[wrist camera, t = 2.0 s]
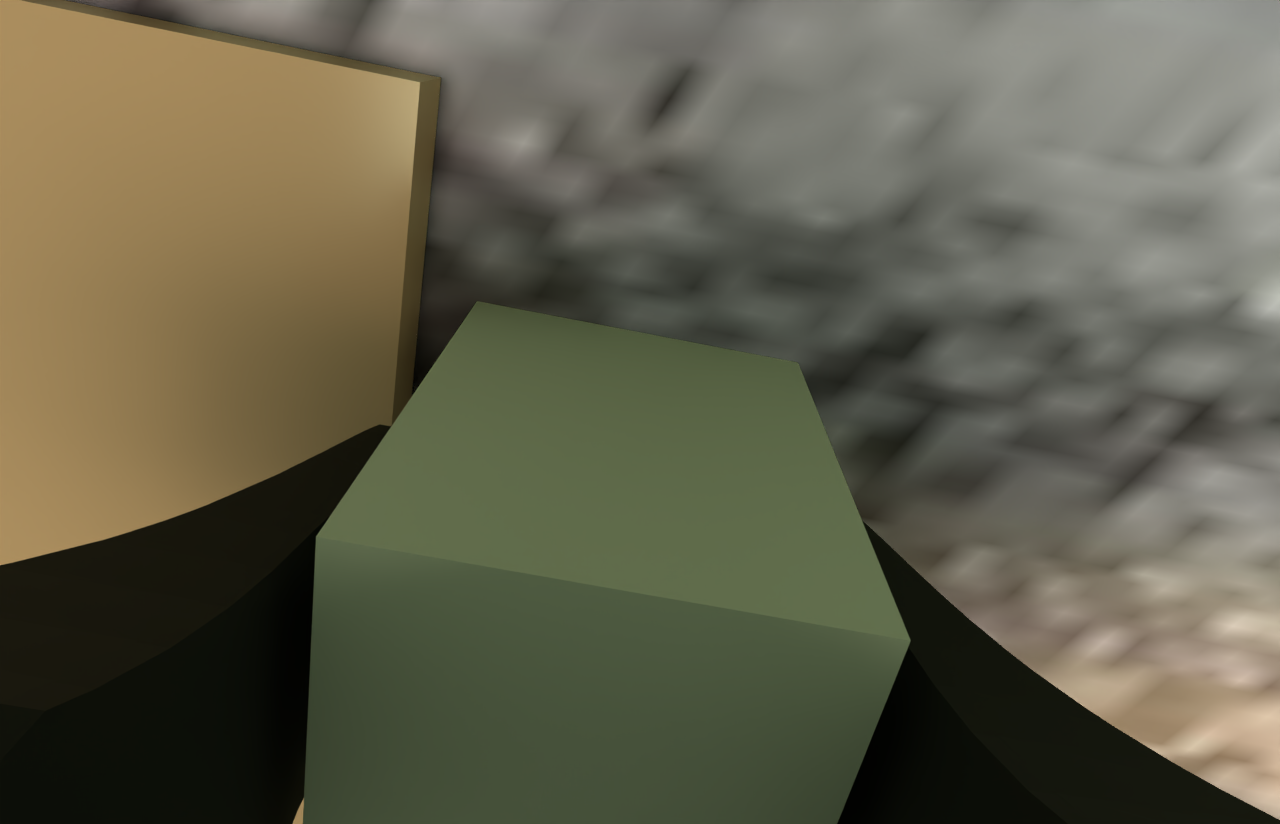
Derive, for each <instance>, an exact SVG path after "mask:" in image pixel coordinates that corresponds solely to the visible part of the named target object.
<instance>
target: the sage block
mask: <svg viewBox="0 0 1280 824" xmlns="http://www.w3.org/2000/svg"><path fill="white" fill-rule="evenodd" d="M910 641H911V640H910V638H909V635H908V633H907V630H906V628H905V626H904V623H903V621H902V618H901V616H900V613H899V611H898V608H897V606H896V603H895V601H894V598H893V596H892V593H891V591H890V589H889V586H888V584H887V581H886V579H885V576H884V574H883V571H882V569H881V566H880V564H879V561H878V559H877V556H876V554H875V552H874V549H873V547H872V544H871V542H870V539H869V537H868V534H867V532H866V529H865V527H864V524H863V522H862V520H861V517H860V515H859V512H858V510H857V507H856V505H855V502H854V500H853V497H852V495H851V492H850V490H849V487H848V485H847V483H846V480H845V478H844V475H843V473H842V470H841V468H840V465H839V463H838V460H837V458H836V455H835V453H834V450H833V448H832V446H831V443H830V441H829V438H828V436H827V433H826V431H825V428H824V426H823V423H822V421H821V418H820V416H819V413H818V411H817V409H816V406H815V404H814V401H813V399H812V396H811V394H810V391H809V389H808V386H807V384H806V381H805V379H804V376H803V374H802V372H801V369H800V367H799V364H798V363H797V362H792V361H787V360H782V359H776V358H771V357H766V356H761V355H756V354H750V353H745V352H740V351H735V350H730V349H724V348H719V347H714V346H709V345H703V344H698V343H693V342H688V341H683V340H677V339H672V338H667V337H662V336H656V335H651V334H646V333H641V332H636V331H630V330H625V329H620V328H615V327H610V326H604V325H599V324H594V323H589V322H583V321H578V320H573V319H568V318H563V317H557V316H552V315H547V314H542V313H537V312H531V311H526V310H521V309H516V308H510V307H505V306H500V305H495V304H490V303H484V302H479V301H477V302H476V303H475V305H474V306H473V308H472V309H471V311H470V312H469V314H468V315H467V317H466V318H465V320H464V321H463V322H462V324H461V325H460V327H459V328H458V330H457V331H456V333H455V334H454V336H453V337H452V339H451V340H450V341H449V343H448V344H447V346H446V347H445V349H444V350H443V352H442V353H441V355H440V356H439V358H438V359H437V360H436V362H435V363H434V365H433V366H432V368H431V369H430V371H429V372H428V374H427V375H426V377H425V378H424V380H423V381H422V382H421V384H420V385H419V387H418V388H417V390H416V391H415V393H414V394H413V396H412V397H411V399H410V400H409V401H408V403H407V404H406V406H405V407H404V409H403V410H402V412H401V413H400V415H399V416H398V418H397V419H396V420H395V422H394V423H393V425H392V426H391V428H390V429H389V431H388V432H387V434H386V435H385V437H384V438H383V439H382V441H381V442H380V444H379V445H378V447H377V448H376V450H375V451H374V453H373V454H372V456H371V457H370V459H369V460H368V461H367V463H366V464H365V466H364V467H363V469H362V470H361V472H360V473H359V475H358V476H357V478H356V479H355V480H354V482H353V483H352V485H351V486H350V488H349V489H348V491H347V492H346V494H345V495H344V497H343V498H342V499H341V501H340V502H339V504H338V505H337V507H336V508H335V510H334V511H333V513H332V514H331V516H330V517H329V518H328V520H327V521H326V523H325V524H324V526H323V527H322V529H321V530H320V532H319V533H318V535H317V536H316V549H315V570H314V592H313V613H312V635H311V657H310V678H309V700H308V722H307V743H306V765H305V786H304V808H303V824H837V823H838V820H839V818H840V815H841V813H842V811H843V808H844V806H845V803H846V801H847V798H848V796H849V793H850V791H851V788H852V786H853V783H854V781H855V778H856V776H857V773H858V771H859V768H860V766H861V763H862V761H863V758H864V756H865V753H866V751H867V748H868V746H869V743H870V741H871V738H872V736H873V733H874V731H875V728H876V726H877V723H878V721H879V718H880V716H881V713H882V711H883V708H884V706H885V703H886V701H887V698H888V696H889V693H890V691H891V688H892V686H893V684H894V681H895V679H896V676H897V674H898V671H899V669H900V666H901V664H902V661H903V659H904V656H905V654H906V651H907V649H908V646H909V644H910Z"/></svg>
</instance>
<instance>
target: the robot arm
mask: <svg viewBox="0 0 1280 824" xmlns="http://www.w3.org/2000/svg"><path fill="white" fill-rule="evenodd" d="M390 428H391V426H386V425H381V424H379V425H377V426H374V427H372V428H369V429H367V430H365V431H363V432H361V433H359V434H357V435H355V436H353V437H351V438H349V439H347V440H345V441H343V442H341V443H339V444H337V445H335V446H333V447H331V448H329V449H327V450H325V451H324V452H322V453H320V454H317V455H315V456H313V457H311V458H309V459H307V460H305V461H303V462H301V463H299V464H297V465H295V466H293V467H291V468H289V469H287V470H285V471H283V472H281V473H279V474H277V475H275V476H273V477H270V478H268V479H266V480H263V481H261V482H259V483H256V484H254V485H252V486H250V487H247V488H245V489H243V490H240V491H238V492H236V493H233V494H231V495H229V496H226V497H224V498H222V499H219V500H217V501H215V502H213V503H210V504H208V505H205V506H203V507H200V508H198V509H195V510H192V511H190V512H187V513H184V514H181V515H179V516H176V517H173V518H170V519H168V520H165V521H162V522H158V523H155V524H152V525H149V526H146V527H143V528H140V529H137V530H134V531H131V532H128V533H124V534H121V535H118V536H115V537H111V538H108V539H104V540H101V541H97V542H93V543H89V544H85V545H81V546H77V547H73V548H69V549H65V550H61V551H57V552H53V553H49V554H45V555H41V556H37V557H33V558H29V559H25V560H21V561H17V562H13V563H8V564H4V565H0V824H293V821H294V819H295V816H296V814H297V811H298V809H299V807H300V805H301V803H302V800H303V798H304V786H305V765H306V743H307V722H308V700H309V678H310V657H311V635H312V613H313V592H314V570H315V549H316V536H317V535H318V533H319V532H320V530H321V529H322V527H323V526H324V524H325V523H326V521H327V520H328V518H329V517H330V516H331V514H332V513H333V511H334V510H335V508H336V507H337V505H338V504H339V502H340V501H341V499H342V498H343V497H344V495H345V494H346V492H347V491H348V489H349V488H350V486H351V485H352V483H353V482H354V480H355V479H356V478H357V476H358V475H359V473H360V472H361V470H362V469H363V467H364V466H365V464H366V463H367V461H368V460H369V459H370V457H371V456H372V454H373V453H374V451H375V450H376V448H377V447H378V445H379V444H380V442H381V441H382V439H383V438H384V437H385V435H386V434H387V432H388V431H389V429H390ZM862 522H863V521H862ZM863 524H864V527H865V529H866V532H867V534H868V537H869V539H870V542H871V544H872V547H873V549H874V552H875V554H876V556H877V559H878V561H879V564H880V566H881V569H882V571H883V574H884V576H885V579H886V581H887V584H888V586H889V589H890V591H891V593H892V596H893V598H894V601H895V603H896V606H897V608H898V611H899V613H900V616H901V618H902V621H903V623H904V626H905V628H906V630H907V633H908V635H909V638H910V640H911V641H910V644H909V646H908V649H907V651H906V654H905V656H904V659H903V661H902V664H901V666H900V669H899V671H898V674H897V676H896V679H895V681H894V684H893V686H892V688H891V691H890V693H889V696H888V698H887V701H886V703H885V706H884V708H883V711H882V713H881V716H880V718H879V721H878V723H877V726H876V728H875V731H874V733H873V736H872V738H871V741H870V743H869V746H868V748H867V751H866V753H865V756H864V758H863V761H862V763H861V766H860V768H859V771H858V773H857V776H856V778H855V781H854V783H853V786H852V788H851V791H850V793H849V796H848V798H847V801H846V803H845V806H844V808H843V811H842V813H841V815H840V818H839V820H838V823H837V824H1280V820H1278V819H1276V818H1274V817H1273V816H1271V815H1269V814H1267V813H1265V812H1263V811H1261V810H1259V809H1257V808H1255V807H1253V806H1251V805H1250V804H1248V803H1246V802H1244V801H1242V800H1240V799H1238V798H1236V797H1234V796H1232V795H1230V794H1228V793H1226V792H1225V791H1223V790H1221V789H1219V788H1217V787H1215V786H1214V785H1212V784H1210V783H1208V782H1206V781H1205V780H1203V779H1201V778H1199V777H1197V776H1196V775H1194V774H1192V773H1190V772H1189V771H1187V770H1185V769H1183V768H1181V767H1180V766H1178V765H1176V764H1174V763H1173V762H1171V761H1169V760H1168V759H1166V758H1164V757H1163V756H1161V755H1159V754H1158V753H1156V752H1155V751H1153V750H1151V749H1150V748H1148V747H1146V746H1145V745H1143V744H1141V743H1140V742H1138V741H1137V740H1135V739H1133V738H1132V737H1130V736H1128V735H1127V734H1125V733H1123V732H1122V731H1120V730H1118V729H1117V728H1115V727H1114V726H1112V725H1111V724H1109V723H1107V722H1106V721H1104V720H1103V719H1101V718H1100V717H1098V716H1097V715H1095V714H1094V713H1092V712H1091V711H1089V710H1088V709H1086V708H1085V707H1083V706H1082V705H1080V704H1079V703H1077V702H1076V701H1075V700H1073V699H1072V698H1070V697H1069V696H1068V695H1066V694H1065V693H1063V692H1062V691H1061V690H1059V689H1058V688H1056V687H1055V686H1054V685H1052V684H1051V683H1049V682H1048V681H1047V680H1045V679H1044V678H1042V677H1041V676H1040V675H1038V674H1037V673H1035V672H1034V671H1033V670H1031V669H1030V668H1029V667H1027V666H1026V665H1025V664H1023V663H1022V662H1021V661H1020V660H1018V659H1017V658H1016V657H1014V656H1013V655H1012V654H1011V653H1009V652H1008V651H1007V650H1006V649H1004V648H1003V647H1002V646H1001V645H999V644H998V643H997V642H996V641H995V640H993V639H992V638H991V637H990V636H989V635H987V634H986V633H985V632H984V631H983V630H981V629H980V628H979V627H978V626H977V625H975V624H974V623H973V622H972V621H971V620H969V619H968V618H967V617H966V616H965V615H964V614H963V613H961V612H960V611H959V610H958V609H957V608H956V607H955V606H954V605H952V604H951V603H950V602H949V601H948V600H947V599H946V598H945V597H943V596H942V595H941V594H940V593H939V592H938V591H937V590H936V589H935V588H934V587H933V586H931V585H930V584H929V583H928V582H927V581H926V580H925V579H924V578H923V577H922V576H921V575H920V574H919V573H918V572H916V571H915V570H914V569H913V568H912V567H911V566H910V565H909V564H908V563H907V562H906V561H905V560H904V559H903V558H902V557H901V556H900V555H899V554H897V553H896V552H895V551H894V550H893V549H892V548H891V547H890V546H889V545H888V544H887V543H886V542H885V541H884V540H883V539H882V538H881V537H880V536H878V535H877V534H876V533H875V532H874V531H873V530H872V529H871V528H870V527H869V526H868V525H866V524H865V523H864V522H863Z"/></svg>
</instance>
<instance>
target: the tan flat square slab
mask: <svg viewBox="0 0 1280 824" xmlns="http://www.w3.org/2000/svg"><path fill="white" fill-rule="evenodd" d="M440 84H441V78H440V77H435V76H430V75H425V74H421V73H416V72H411V71H406V70H401V69H396V68H391V67H387V66H382V65H377V64H372V63H367V62H362V61H357V60H353V59H348V58H343V57H338V56H333V55H328V54H323V53H319V52H314V51H309V50H304V49H299V48H294V47H290V46H285V45H280V44H275V43H270V42H265V41H260V40H256V39H251V38H246V37H241V36H236V35H231V34H226V33H222V32H217V31H212V30H207V29H202V28H197V27H192V26H188V25H183V24H178V23H173V22H168V21H163V20H158V19H154V18H149V17H144V16H139V15H134V14H129V13H124V12H120V11H115V10H110V9H105V8H100V7H95V6H91V5H86V4H81V3H76V2H71V1H66V0H0V565H4V564H8V563H13V562H17V561H21V560H25V559H29V558H33V557H37V556H41V555H45V554H49V553H53V552H57V551H61V550H65V549H69V548H73V547H77V546H81V545H85V544H89V543H93V542H97V541H101V540H104V539H108V538H111V537H115V536H118V535H121V534H124V533H128V532H131V531H134V530H137V529H140V528H143V527H146V526H149V525H152V524H155V523H158V522H162V521H165V520H168V519H170V518H173V517H176V516H179V515H181V514H184V513H187V512H190V511H192V510H195V509H198V508H200V507H203V506H205V505H208V504H210V503H213V502H215V501H217V500H219V499H222V498H224V497H226V496H229V495H231V494H233V493H236V492H238V491H240V490H243V489H245V488H247V487H250V486H252V485H254V484H256V483H259V482H261V481H263V480H266V479H268V478H270V477H273V476H275V475H277V474H279V473H281V472H283V471H285V470H287V469H289V468H291V467H293V466H295V465H297V464H299V463H301V462H303V461H305V460H307V459H309V458H311V457H313V456H315V455H317V454H320V453H322V452H324V451H325V450H327V449H329V448H331V447H333V446H335V445H337V444H339V443H341V442H343V441H345V440H347V439H349V438H351V437H353V436H355V435H357V434H359V433H361V432H363V431H365V430H367V429H369V428H372V427H374V426H377V425H379V424H381V425H386V426H392V425H393V423H394V422H395V420H396V419H397V418H398V416H399V415H400V413H401V412H402V410H403V409H404V407H405V406H406V404H407V403H408V401H409V400H410V399H411V397H412V387H413V376H414V366H415V355H416V344H417V333H418V322H419V311H420V301H421V290H422V279H423V268H424V257H425V246H426V236H427V225H428V214H429V203H430V192H431V181H432V171H433V160H434V149H435V138H436V127H437V116H438V105H439V95H440ZM303 808H304V798H303V800H302V803H301V805H300V807H299V809H298V811H297V814H296V816H295V819H294V821H293V824H303Z"/></svg>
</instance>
